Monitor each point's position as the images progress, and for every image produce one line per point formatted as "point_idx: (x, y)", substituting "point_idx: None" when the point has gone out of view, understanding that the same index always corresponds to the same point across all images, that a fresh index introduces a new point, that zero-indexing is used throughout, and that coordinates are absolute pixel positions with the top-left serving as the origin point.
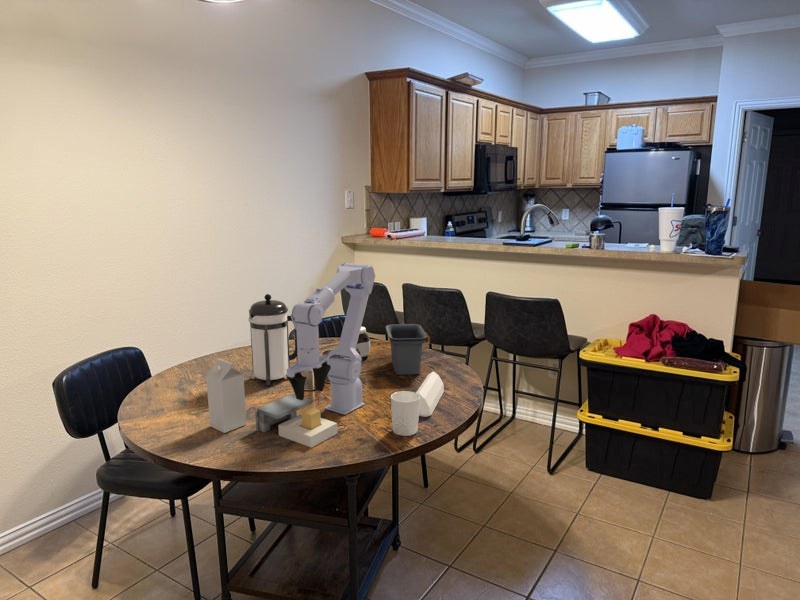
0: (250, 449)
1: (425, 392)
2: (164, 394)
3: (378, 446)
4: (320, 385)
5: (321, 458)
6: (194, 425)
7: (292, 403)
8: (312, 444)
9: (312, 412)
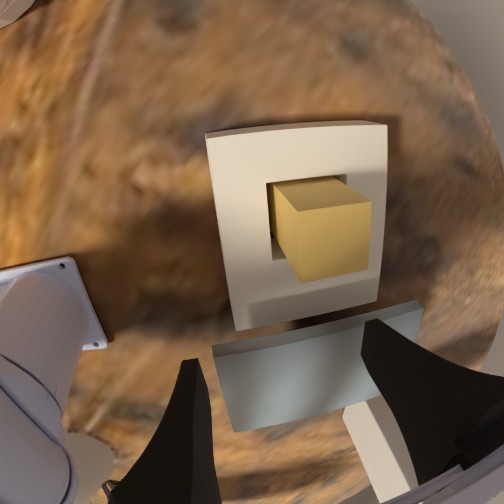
0: (448, 258)
1: None
2: (325, 496)
3: None
4: (200, 395)
5: (388, 37)
6: None
7: (303, 372)
8: (361, 121)
9: (343, 224)
